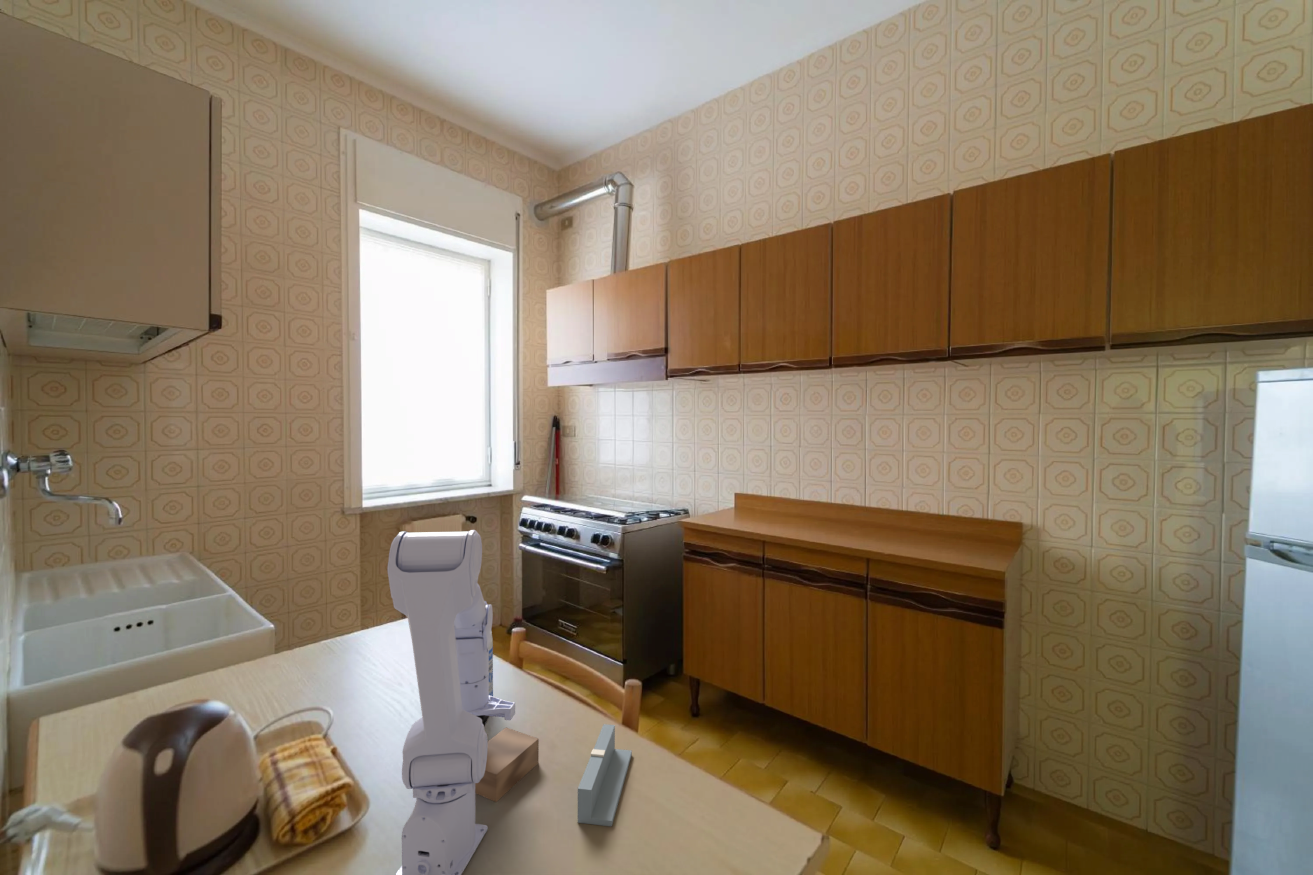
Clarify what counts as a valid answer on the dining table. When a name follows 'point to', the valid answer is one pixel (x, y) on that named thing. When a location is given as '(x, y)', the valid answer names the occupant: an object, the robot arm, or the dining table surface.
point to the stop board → (603, 780)
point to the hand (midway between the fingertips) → (470, 756)
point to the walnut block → (507, 762)
